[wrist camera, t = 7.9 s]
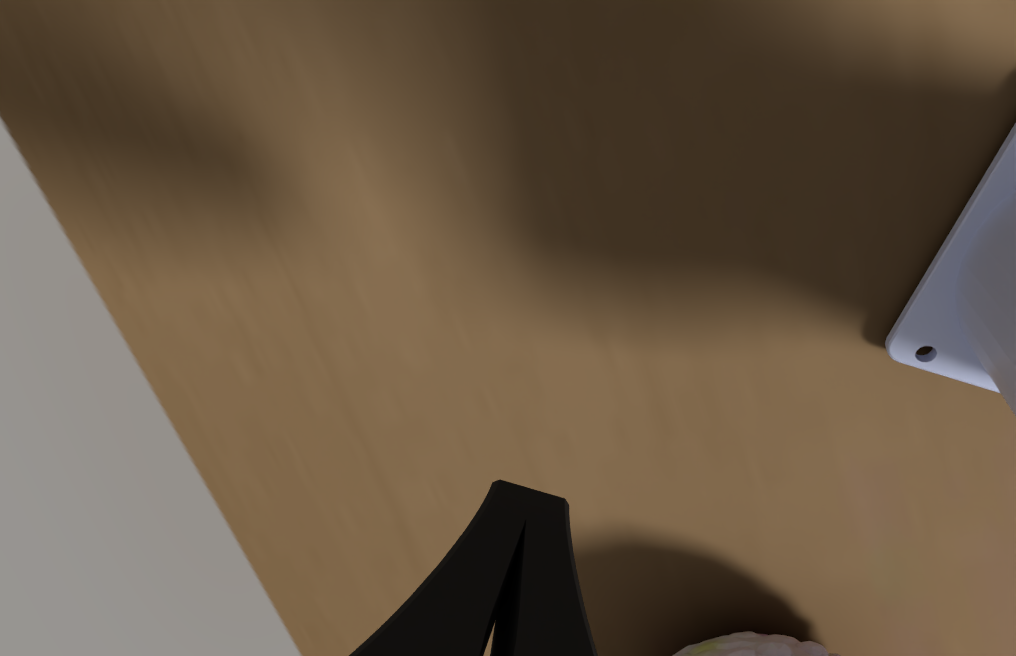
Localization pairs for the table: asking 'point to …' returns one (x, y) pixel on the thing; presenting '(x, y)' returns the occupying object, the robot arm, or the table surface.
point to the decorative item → (754, 646)
